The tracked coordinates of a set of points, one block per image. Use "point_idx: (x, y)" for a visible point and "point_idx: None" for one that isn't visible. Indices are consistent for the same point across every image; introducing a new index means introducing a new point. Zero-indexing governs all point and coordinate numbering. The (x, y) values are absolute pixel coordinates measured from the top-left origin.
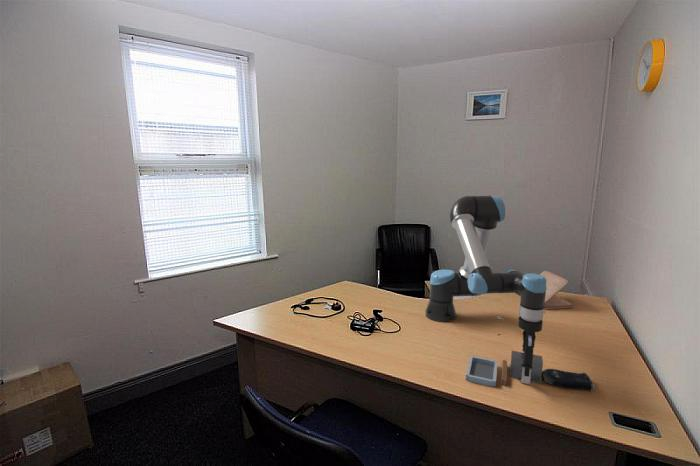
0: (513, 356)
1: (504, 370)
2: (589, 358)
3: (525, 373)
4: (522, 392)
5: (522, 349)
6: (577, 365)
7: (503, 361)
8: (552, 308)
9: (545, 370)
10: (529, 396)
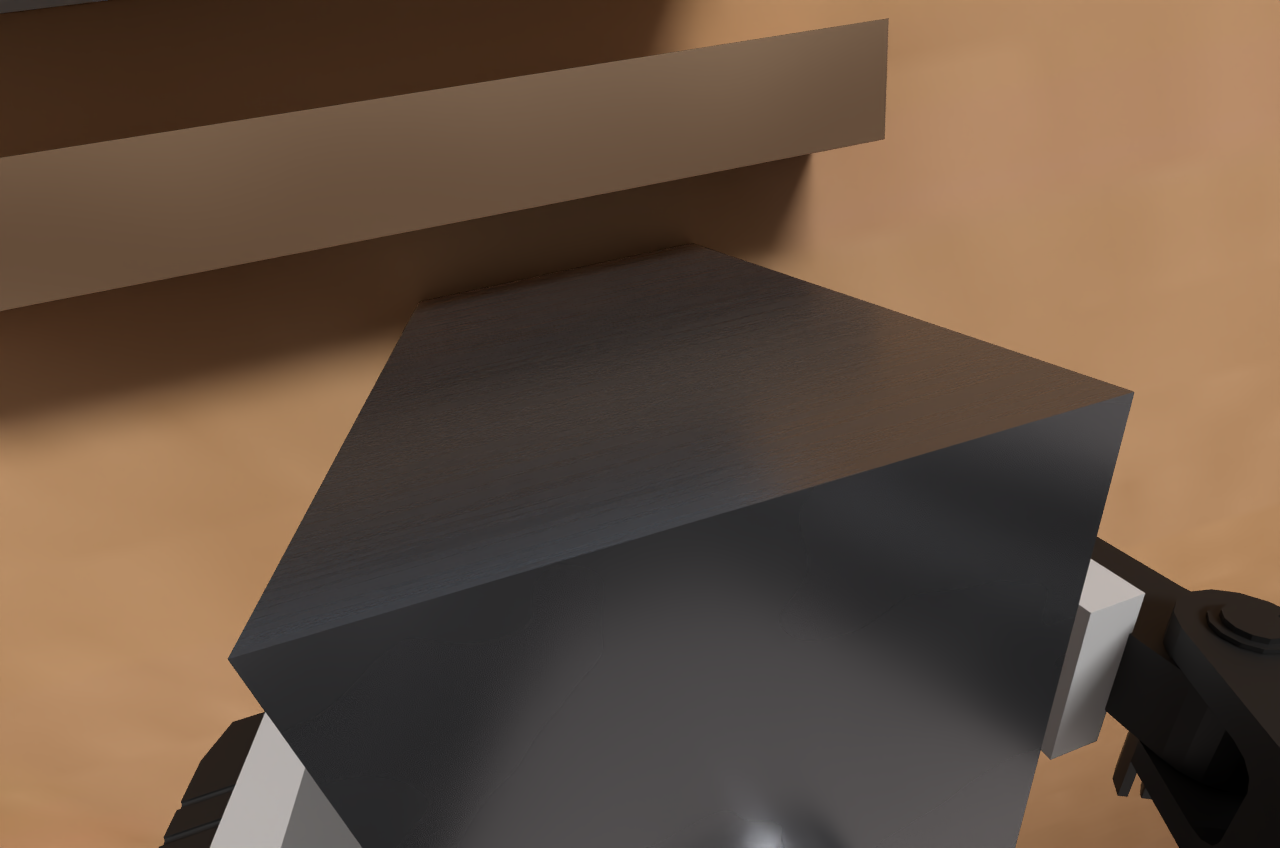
0: (423, 693)
1: (354, 178)
2: None
3: (185, 820)
4: (33, 615)
5: (1266, 634)
6: (1074, 761)
7: (826, 53)
8: None
9: None
10: (21, 715)
